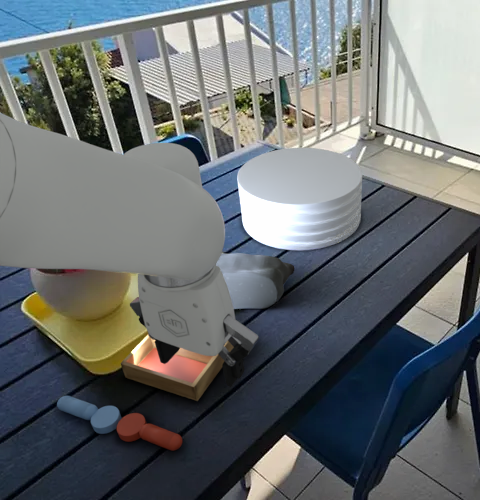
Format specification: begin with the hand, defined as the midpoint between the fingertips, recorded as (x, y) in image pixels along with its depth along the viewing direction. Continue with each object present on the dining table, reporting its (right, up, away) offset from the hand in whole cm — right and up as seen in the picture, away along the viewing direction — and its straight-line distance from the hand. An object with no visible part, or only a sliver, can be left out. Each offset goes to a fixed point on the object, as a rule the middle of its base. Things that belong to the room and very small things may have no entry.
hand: (202, 366), depth 64 cm
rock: (-2, +7, +33) cm, 34 cm away
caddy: (-8, -3, +19) cm, 21 cm away
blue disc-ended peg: (-19, -9, +9) cm, 23 cm away
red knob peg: (-9, -12, +7) cm, 16 cm away
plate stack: (+7, +23, +56) cm, 61 cm away
